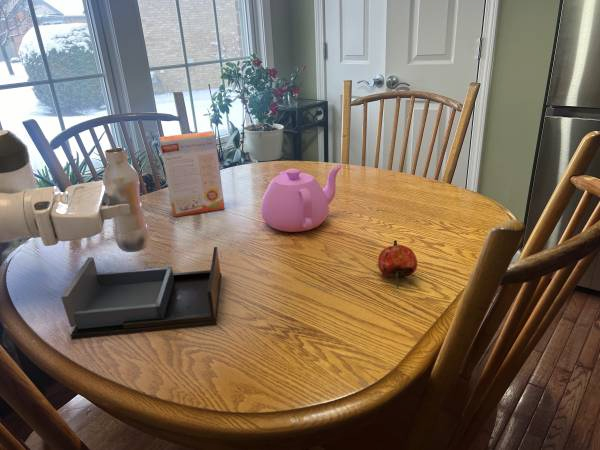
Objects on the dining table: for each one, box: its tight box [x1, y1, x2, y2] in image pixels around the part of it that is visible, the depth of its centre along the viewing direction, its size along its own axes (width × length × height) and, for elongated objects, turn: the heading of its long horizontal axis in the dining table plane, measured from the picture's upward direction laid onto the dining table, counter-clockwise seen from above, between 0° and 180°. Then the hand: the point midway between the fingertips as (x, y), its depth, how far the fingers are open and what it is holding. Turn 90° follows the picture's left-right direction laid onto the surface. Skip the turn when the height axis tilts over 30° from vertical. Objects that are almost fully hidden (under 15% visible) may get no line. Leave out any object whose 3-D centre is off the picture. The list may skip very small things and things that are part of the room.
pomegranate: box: [377, 239, 418, 290], centre depth 84 cm, size 7×7×10 cm
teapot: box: [260, 164, 344, 233], centre depth 109 cm, size 22×22×14 cm
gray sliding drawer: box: [60, 256, 174, 329], centre depth 78 cm, size 15×13×7 cm
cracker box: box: [159, 130, 225, 218], centre depth 117 cm, size 14×6×21 cm, turn 108°
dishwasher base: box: [70, 246, 222, 340], centre depth 79 cm, size 24×16×7 cm
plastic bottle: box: [101, 147, 151, 253], centre depth 83 cm, size 6×7×20 cm
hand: (130, 201), depth 83 cm, fingers closed on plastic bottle, 5 cm apart
